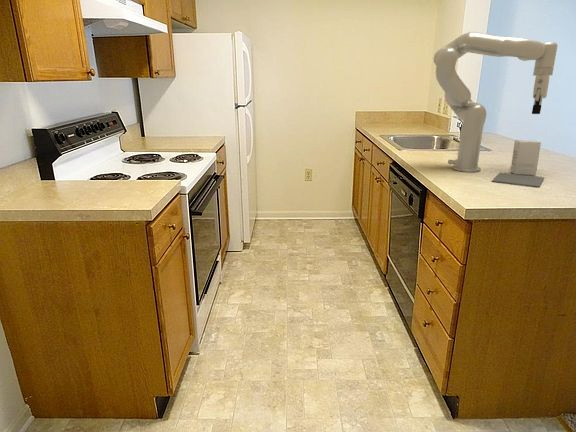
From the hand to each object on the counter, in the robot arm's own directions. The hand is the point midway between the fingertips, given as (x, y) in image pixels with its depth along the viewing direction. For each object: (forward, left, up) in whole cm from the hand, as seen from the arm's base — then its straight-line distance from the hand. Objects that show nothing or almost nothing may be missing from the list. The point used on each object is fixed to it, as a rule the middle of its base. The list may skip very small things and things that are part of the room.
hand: (535, 113), depth 192 cm
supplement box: (0, -10, -27) cm, 28 cm away
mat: (0, -25, -27) cm, 36 cm away
